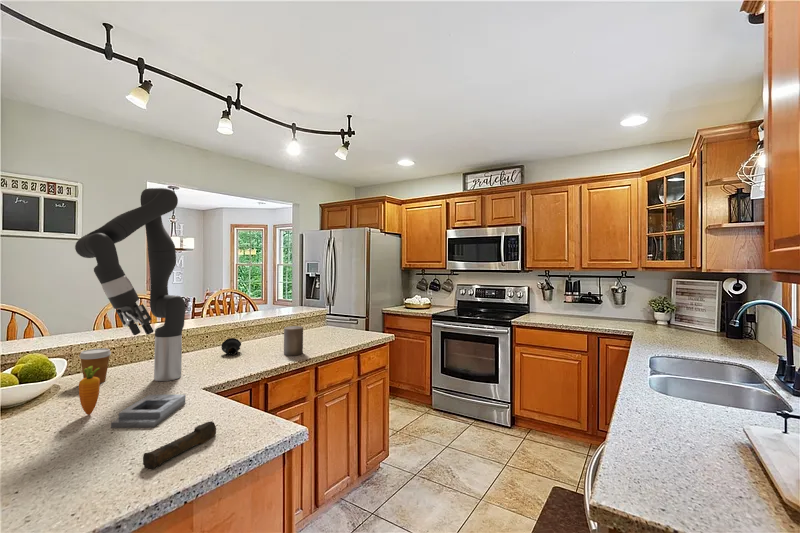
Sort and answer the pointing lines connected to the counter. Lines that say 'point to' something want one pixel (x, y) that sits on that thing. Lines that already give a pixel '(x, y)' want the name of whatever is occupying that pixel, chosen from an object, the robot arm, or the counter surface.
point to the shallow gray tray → (149, 411)
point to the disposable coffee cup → (96, 361)
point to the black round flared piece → (231, 346)
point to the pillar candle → (293, 340)
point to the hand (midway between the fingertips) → (143, 333)
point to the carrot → (89, 390)
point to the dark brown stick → (179, 445)
